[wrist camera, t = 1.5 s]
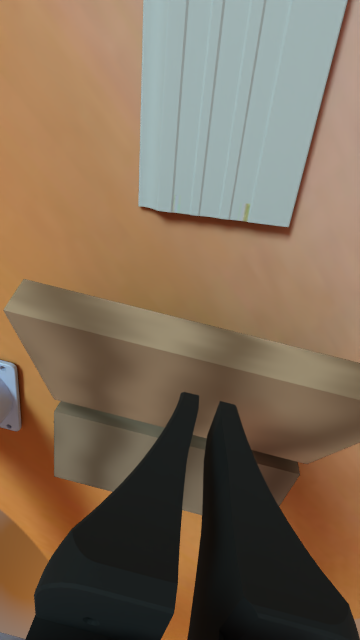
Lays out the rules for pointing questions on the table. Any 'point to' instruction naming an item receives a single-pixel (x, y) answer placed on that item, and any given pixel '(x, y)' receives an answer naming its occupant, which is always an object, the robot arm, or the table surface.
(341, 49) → the table surface
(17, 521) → the table surface
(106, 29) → the table surface
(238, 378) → the plank
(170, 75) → the baseboard
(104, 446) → the floor panel
